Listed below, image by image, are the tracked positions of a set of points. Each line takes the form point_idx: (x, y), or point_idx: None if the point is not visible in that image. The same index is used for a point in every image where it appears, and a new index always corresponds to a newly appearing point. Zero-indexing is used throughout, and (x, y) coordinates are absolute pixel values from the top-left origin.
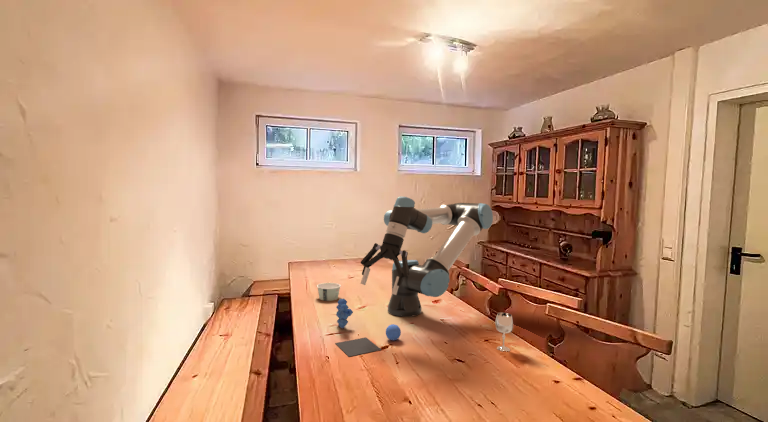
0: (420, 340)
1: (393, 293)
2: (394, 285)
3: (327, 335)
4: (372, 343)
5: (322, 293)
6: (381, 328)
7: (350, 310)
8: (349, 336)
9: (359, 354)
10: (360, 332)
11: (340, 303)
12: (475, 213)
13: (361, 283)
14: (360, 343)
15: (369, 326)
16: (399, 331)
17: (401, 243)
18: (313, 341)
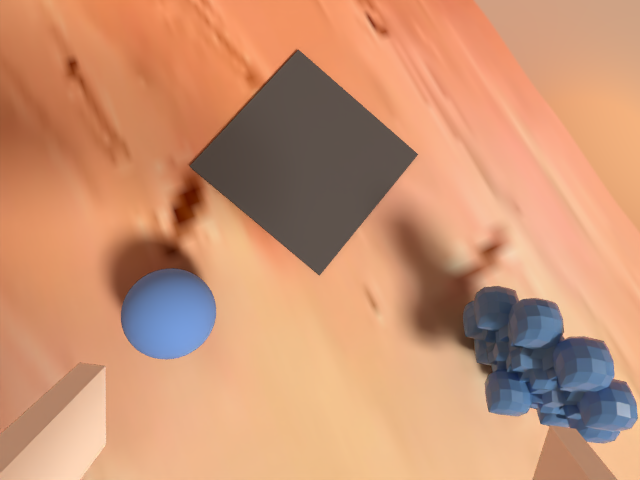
0: (27, 366)
1: (76, 366)
2: (23, 443)
3: (495, 228)
4: (258, 215)
5: None
6: (297, 438)
7: (503, 386)
8: (400, 259)
9: (265, 85)
10: (375, 331)
11: (586, 337)
12: None
13: (562, 429)
14: (311, 193)
15: (369, 435)
16: (122, 306)
17: None
18: (511, 143)
